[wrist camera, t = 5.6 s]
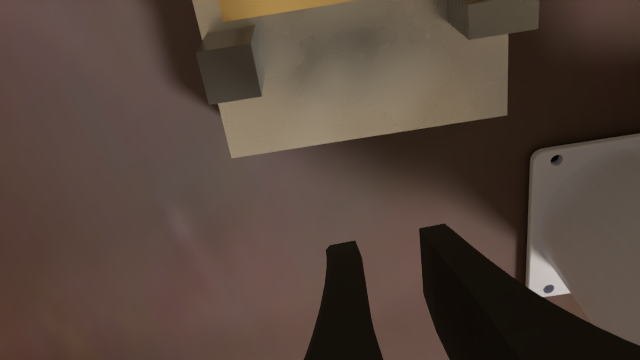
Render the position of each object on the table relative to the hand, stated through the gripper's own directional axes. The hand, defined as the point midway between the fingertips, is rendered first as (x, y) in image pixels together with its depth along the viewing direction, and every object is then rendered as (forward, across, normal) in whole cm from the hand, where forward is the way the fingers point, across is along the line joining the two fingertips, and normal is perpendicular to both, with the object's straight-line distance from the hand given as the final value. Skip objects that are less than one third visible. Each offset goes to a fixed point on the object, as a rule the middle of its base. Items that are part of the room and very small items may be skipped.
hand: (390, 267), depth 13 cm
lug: (+8, +3, -4) cm, 9 cm away
